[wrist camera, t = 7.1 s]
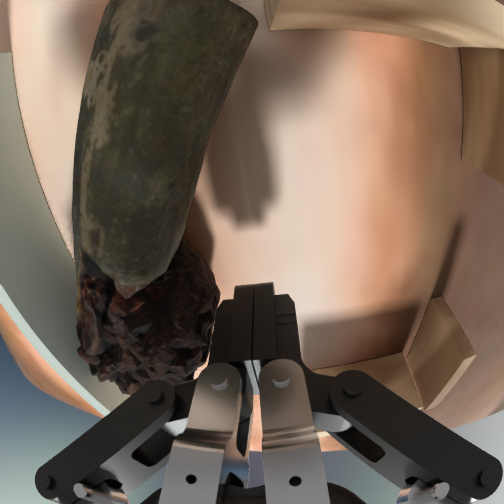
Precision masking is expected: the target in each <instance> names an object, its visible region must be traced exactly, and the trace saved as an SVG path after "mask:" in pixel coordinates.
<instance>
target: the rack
mask: <svg viewBox="0 0 504 504" xmlns="http://www.w3.org/2000/svg"><path fill="white" fill-rule="evenodd" d="M77 295H78V287H77V277H76V268H75V264H74V262H73V260H72V258H71V256H70V254H69V252H68V250H67V248H66V246H65V243H64V241H63V239H62V237H61V235H60V233H59V230H58V228H57V226H56V224H55V221H54V219H53V216H52V214H51V212H50V209H49V207H48V204H47V202H46V199H45V196H44V194H43V191H42V188H41V185H40V183H39V180H38V177H37V174H36V171H35V168H34V164H33V161H32V158H31V155H30V151H29V148H28V144H27V140H26V136H25V132H24V128H23V124H22V120H21V115H20V110H19V105H18V100H17V94H16V87H15V80H14V73H13V63H12V52H5V53H0V303H1V304H2V306H3V307H4V308H5V310H6V311H7V313H8V314H9V316H10V317H11V318H12V320H13V321H14V322H15V324H16V325H17V326H18V328H19V329H20V330H21V332H22V333H23V334H24V335H25V337H26V338H27V339H28V340H29V342H30V343H31V344H32V345H33V347H34V348H35V349H36V350H37V351H38V352H39V354H40V355H41V356H42V357H43V358H44V359H45V360H46V361H47V362H48V364H49V365H50V366H51V367H52V368H53V369H54V370H55V371H56V372H57V373H58V374H59V375H60V376H61V377H62V378H63V379H64V380H65V381H66V382H67V383H68V384H69V385H70V386H71V387H72V388H73V389H74V390H75V391H76V392H77V393H78V394H79V395H81V396H82V397H83V398H84V399H85V400H86V401H87V402H88V403H89V404H91V405H92V406H93V407H94V408H95V409H96V410H98V411H99V412H100V413H101V414H102V415H104V416H106V415H108V414H109V413H110V412H111V411H113V410H114V409H115V408H116V407H118V406H119V405H120V404H121V403H122V402H124V401H125V400H126V399H127V398H128V397H130V396H131V395H127V394H122V393H121V391H120V390H119V387H118V386H117V385H116V384H115V382H110V381H109V380H106V381H104V382H99V379H98V377H97V376H92V374H91V372H90V367H89V364H88V362H86V361H84V360H83V359H82V358H81V357H80V356H79V354H78V353H77V349H78V348H79V347H80V346H81V345H80V341H79V339H78V337H77V329H76V325H77V324H78V323H77Z"/></svg>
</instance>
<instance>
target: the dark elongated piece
mask: <svg viewBox="0 0 504 504" xmlns="http://www.w3.org/2000/svg"><path fill="white" fill-rule="evenodd" d="M257 27H258V21H257V20H256V18H255V17H254V16H253V15H252V14H251V13H249V12H248V11H247V10H245V9H244V8H242V7H240V6H238V5H236V4H234V3H232V2H230V1H229V0H110V1H109V3H108V4H107V6H106V8H105V11H104V14H103V17H102V20H101V23H100V26H99V30H98V33H97V37H96V40H95V44H94V48H93V51H92V55H91V58H90V62H89V66H88V70H87V74H86V79H85V83H84V88H83V93H82V100H81V106H80V113H79V119H78V126H77V134H76V142H75V153H74V170H73V204H72V220H73V233H74V257H75V268H76V277H77V287H78V295H77V323H78V324H77V325H76V329H77V337H78V339H79V341H80V345H81V346H80V347H79V348H78V349H77V353H78V354H79V356H80V357H81V358H82V359H83V360H84V361H86V362H88V364H89V367H90V372H91V374H92V376H97V377H98V379H99V382H104V381H106V380H109V381H110V382H115V384H116V385H117V386H118V387H119V390H120V391H121V393H122V394H127V395H132V394H133V393H134V392H136V391H137V390H138V389H139V388H140V387H142V386H143V385H144V384H145V383H147V382H149V381H152V380H164V381H166V382H168V383H170V384H171V385H172V386H176V385H180V384H183V383H187V382H189V381H192V380H194V379H193V377H194V372H195V371H196V370H198V369H197V368H198V367H200V366H202V365H203V364H204V363H205V362H206V360H207V357H208V354H209V352H210V348H211V341H212V335H213V334H212V331H213V325H214V322H215V317H216V310H217V307H218V303H219V300H220V291H219V289H218V287H217V285H216V282H215V277H214V274H213V272H212V271H211V269H210V268H209V267H208V266H207V265H206V264H205V263H204V261H203V259H202V257H201V256H200V254H199V253H197V252H196V251H195V250H194V249H192V248H191V247H190V245H189V243H188V242H187V241H185V240H184V239H182V236H183V233H184V230H185V227H186V221H187V217H188V213H189V210H190V207H191V203H192V200H193V197H194V193H195V189H196V185H197V182H198V178H199V174H200V171H201V167H202V164H203V159H204V154H205V149H206V145H207V142H208V138H209V134H210V131H211V129H212V127H213V125H214V122H215V120H216V118H217V116H218V114H219V111H220V109H221V107H222V105H223V103H224V101H225V98H226V96H227V93H228V91H229V88H230V86H231V84H232V81H233V79H234V77H235V75H236V72H237V70H238V68H239V66H240V63H241V61H242V59H243V57H244V55H245V52H246V50H247V48H248V46H249V44H250V41H251V39H252V37H253V35H254V33H255V31H256V29H257Z"/></svg>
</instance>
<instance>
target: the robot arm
mask: <svg viewBox="0 0 504 504" xmlns="http://www.w3.org/2000/svg"><path fill="white" fill-rule="evenodd" d="M253 395H260V406H261V418H262V430H263V438H262V456H263V467H264V478H265V485H262V486H258V487H254V488H249V489H248V488H247V487H248V478H249V461H248V455H249V447H250V439H251V430H252V421H253ZM315 429H318V430H324V431H327V432H328V434H330V435H331V436H332V437H333V438H334V439H336V440H337V441H338V442H339V443H341V444H342V445H343V446H344V447H346V448H347V449H348V450H349V451H351V452H352V453H353V454H354V455H356V456H357V457H358V458H359V459H361V460H362V461H364V462H365V463H366V464H367V465H369V466H370V467H371V468H373V469H374V470H375V471H377V472H378V473H379V474H381V475H382V476H384V477H385V478H386V479H388V480H389V481H391V482H392V483H393V484H395V485H396V486H398V487H399V488H401V489H402V491H401V492H400V494H399V495H398V498H397V504H472V503H473V502H476V501H479V500H482V499H485V498H487V497H489V496H490V495H492V494H493V493H494V492H495V491H496V489H497V488H498V486H499V485H500V482H501V480H502V475H503V469H502V465H501V463H500V461H499V460H498V459H496V458H495V457H493V456H492V455H490V454H488V453H487V452H485V451H483V450H481V449H480V448H478V447H477V446H475V445H473V444H472V443H470V442H469V441H467V440H465V439H464V438H462V437H461V436H459V435H457V434H456V433H454V432H453V431H451V430H450V429H448V428H447V427H445V426H443V425H442V424H440V423H439V422H437V421H436V420H434V419H433V418H431V417H430V416H428V415H427V414H425V413H424V412H422V411H421V410H419V409H418V408H416V407H415V406H413V405H412V404H410V403H409V402H407V401H406V400H404V399H403V398H401V397H400V396H398V395H397V394H395V393H394V392H392V391H391V390H390V389H388V388H387V387H385V386H384V385H382V384H381V383H379V382H378V381H377V380H375V379H374V378H372V377H371V376H369V375H368V374H366V373H365V372H362V371H359V370H347V371H344V372H341V373H339V374H338V375H337V376H336V377H335V376H328V375H322V374H318V373H315V372H313V371H311V370H310V369H308V368H307V367H306V366H305V365H304V363H303V361H302V358H301V352H300V343H299V335H298V327H297V319H296V311H295V303H294V301H293V300H292V299H291V297H290V296H289V295H288V294H282V295H275V292H274V284H273V282H269V283H260V284H255V285H254V284H250V285H240V286H235V290H234V299H229V300H223V301H222V303H221V304H220V306H219V307H218V308H217V310H216V317H215V323H214V331H213V335H212V342H211V348H210V355H209V362H208V366H207V367H206V368H205V369H204V370H203V371H202V372H201V373H200V375H199V377H198V378H197V379H195V380H193V381H190V382H187V383H183V384H180V385H176V386H172V385H171V384H170V383H168V382H166V381H164V380H152V381H149V382H147V383H145V384H144V385H143V386H142V387H140V388H139V389H138V390H137V391H136V392H134V393H133V394H132V395H131V396H130V397H128V398H127V399H126V400H125V401H124V402H122V403H121V404H120V405H119V406H118V407H116V408H115V409H114V410H113V411H111V412H110V413H109V414H108V415H106V416H105V417H104V418H103V419H102V420H100V421H99V422H98V423H97V424H95V425H94V426H93V427H92V428H90V429H89V430H88V431H87V432H85V433H84V434H83V435H82V436H80V437H79V438H78V439H76V440H75V441H74V442H73V443H71V444H70V445H69V446H67V447H66V448H65V449H64V450H62V451H61V452H60V453H58V454H57V455H56V456H54V457H53V458H52V459H51V460H49V461H48V462H47V463H45V464H44V465H43V466H41V467H40V468H39V469H38V471H37V472H36V475H35V485H36V488H37V490H38V492H39V493H40V494H41V495H42V496H43V497H44V498H46V499H49V500H51V501H54V502H57V503H59V504H130V503H129V501H128V499H127V495H128V494H130V493H131V492H132V491H134V490H135V489H136V488H138V487H139V486H140V485H142V484H143V483H144V482H145V481H147V480H148V479H149V478H150V477H151V476H152V475H154V474H155V473H156V472H157V471H159V470H160V469H161V468H162V467H163V466H165V465H166V464H167V463H168V465H167V470H166V473H165V478H164V482H163V487H162V488H160V489H158V490H157V491H155V492H154V493H153V494H151V495H150V496H149V497H148V498H147V499H145V500H144V501H143V502H142V503H141V504H366V503H365V502H364V501H362V500H361V499H360V498H359V497H358V496H357V495H355V494H354V493H352V492H351V491H349V490H348V489H346V488H344V487H341V486H339V485H336V484H333V483H328V482H327V481H326V476H325V470H324V465H323V459H322V453H321V448H320V442H319V438H318V434H317V432H316V430H315Z"/></svg>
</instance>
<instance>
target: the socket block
mask: <svg viewBox="0 0 504 504" xmlns="http://www.w3.org/2000/svg"><path fill="white" fill-rule="evenodd" d="M264 5H265V10H266V15H267V20H268V26H269V31H275V30H291V29H339V30H355V31H367V32H376V33H383V34H390V35H397V36H403V37H408V38H413V39H418V40H423V41H427V42H431V43H435V44H439V45H443V46H446V47H459V49H460V57H461V67H462V80H463V143H462V156H461V160H463V161H465V162H467V163H468V164H470V165H472V166H474V167H475V168H477V169H479V170H480V171H482V172H484V173H485V174H487V175H489V176H490V177H492V178H493V179H495V180H497V181H498V182H500V183H501V184H503V185H504V6H503V5H502V4H500V3H498V2H497V1H495V0H265V4H264ZM475 356H476V353H475V351H474V349H473V347H472V345H471V343H470V342H469V340H468V338H467V336H466V334H465V333H464V331H463V329H462V327H461V326H460V324H459V322H458V321H457V319H456V317H455V316H454V314H453V312H452V311H451V309H450V308H449V306H448V304H447V303H446V301H445V300H444V298H443V297H442V296H441V297H437V298H433V299H430V302H429V305H428V308H427V310H426V313H425V316H424V318H423V321H422V323H421V326H420V328H419V331H418V333H417V336H416V338H415V340H414V343H413V345H412V347H411V349H410V352H409V354H408V356H407V358H406V359H407V362H408V364H409V367H410V369H411V372H412V375H413V377H414V380H415V383H416V386H417V388H418V391H419V394H420V397H421V400H422V403H423V406H424V409H425V410H428V409H431V408H433V407H436V406H437V405H438V404H439V403H440V402H441V400H442V399H443V398H444V397H445V396H446V394H447V393H448V392H449V391H450V390H451V388H452V387H453V386H454V385H455V383H456V382H457V381H458V379H459V378H460V377H461V375H462V374H463V373H464V371H465V370H466V369H467V367H468V366H469V365H470V363H471V362H472V360H473V359H474V357H475ZM406 359H405V357H404V354H403V352H401V353H397V354H393V355H389V356H385V357H380V358H376V359H371V360H366V361H362V362H357V363H351V364H346V365H341V366H335V367H329V368H322V369H316V370H311V371H313V372H315V373H318V374H322V375H328V376H335V377H336V376H337V375H338V374H339V373H341V372H344V371H347V370H359V371H362V372H365V373H366V374H368V375H369V376H371V377H372V378H374V379H375V380H377V381H378V382H379V383H381V384H382V385H384V386H385V387H387V388H388V389H390V390H391V391H392V392H394V393H395V394H397V395H398V396H400V397H401V398H403V399H404V400H406V401H407V402H409V403H410V404H412V405H413V406H415V407H416V408H418V409H419V410H420V409H421V408H422V407H423V406H422V403H421V400H420V397H419V394H418V392H417V389H416V386H415V383H414V380H413V378H412V375H411V372H410V370H409V367H408V365H407V362H406ZM315 430H316V432H317V434H318V437H324V436H330V434H328V432H327V431H324V430H318V429H315Z"/></svg>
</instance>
